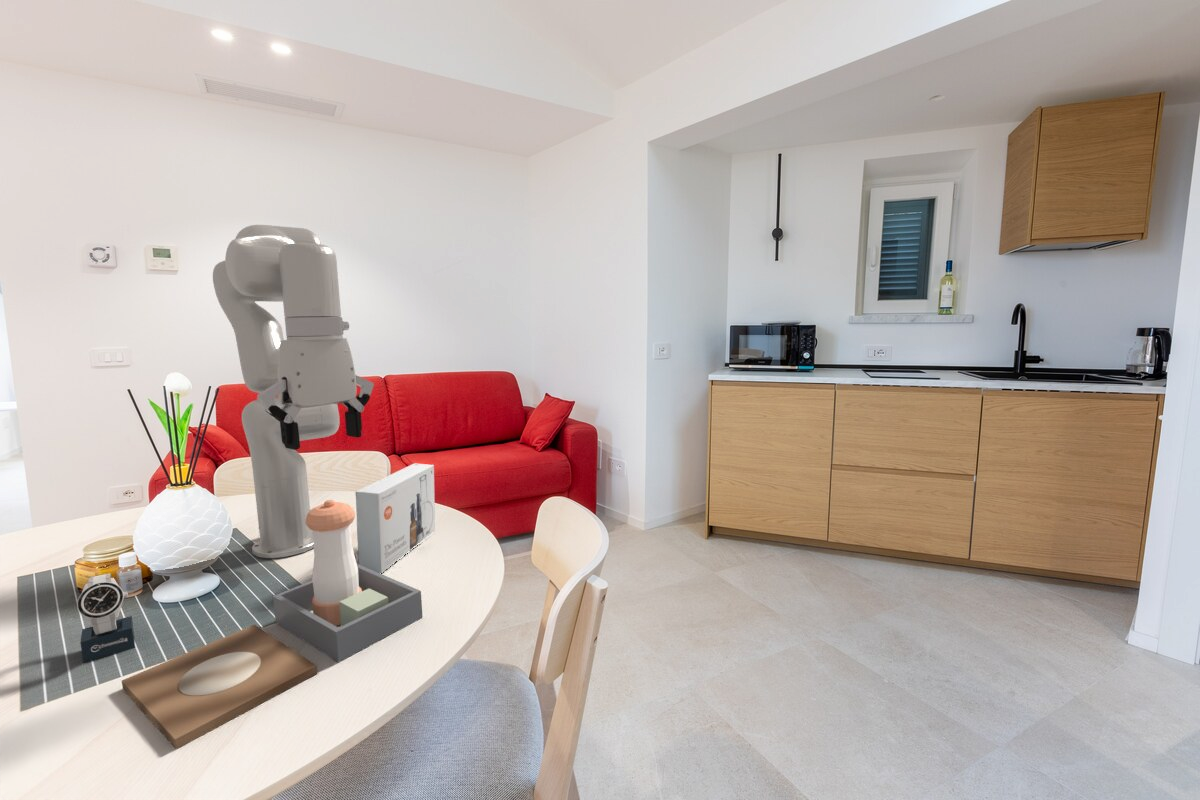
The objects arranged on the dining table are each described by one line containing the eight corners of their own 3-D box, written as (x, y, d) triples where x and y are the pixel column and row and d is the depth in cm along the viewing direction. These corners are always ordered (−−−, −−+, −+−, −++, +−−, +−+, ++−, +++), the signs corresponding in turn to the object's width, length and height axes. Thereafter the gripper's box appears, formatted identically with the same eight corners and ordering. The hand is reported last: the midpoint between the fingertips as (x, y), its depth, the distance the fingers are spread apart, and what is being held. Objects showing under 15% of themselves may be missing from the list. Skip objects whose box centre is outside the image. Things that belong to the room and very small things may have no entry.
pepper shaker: (360, 622, 88) (351, 505, 85) (309, 630, 86) (298, 510, 83) (365, 600, 94) (357, 491, 92) (318, 607, 92) (308, 495, 90)
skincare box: (383, 575, 104) (377, 493, 101) (357, 573, 105) (351, 491, 102) (438, 532, 124) (434, 463, 122) (416, 531, 125) (411, 462, 123)
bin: (275, 622, 88) (272, 596, 87) (357, 587, 99) (356, 563, 98) (338, 662, 77) (336, 632, 77) (422, 617, 89) (420, 591, 88)
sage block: (341, 632, 85) (339, 601, 84) (371, 617, 89) (369, 588, 88) (360, 642, 82) (358, 611, 82) (390, 627, 86) (388, 597, 86)
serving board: (122, 689, 72) (121, 679, 72) (255, 631, 85) (254, 623, 85) (176, 749, 62) (174, 738, 62) (317, 673, 75) (316, 664, 75)
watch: (82, 669, 77) (70, 594, 75) (86, 643, 83) (74, 573, 81) (135, 653, 80) (125, 581, 78) (135, 629, 86) (125, 562, 85)
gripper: (354, 328, 92) (362, 430, 95) (239, 331, 78) (252, 450, 81) (381, 328, 88) (389, 434, 90) (265, 331, 74) (277, 457, 76)
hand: (324, 442), depth 85 cm, fingers open, 9 cm apart
